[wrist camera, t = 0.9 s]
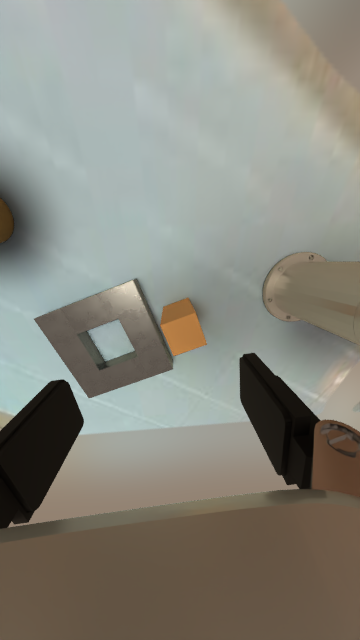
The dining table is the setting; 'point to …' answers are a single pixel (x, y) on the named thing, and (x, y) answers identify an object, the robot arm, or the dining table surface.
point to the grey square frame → (81, 353)
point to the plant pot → (5, 222)
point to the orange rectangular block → (181, 327)
